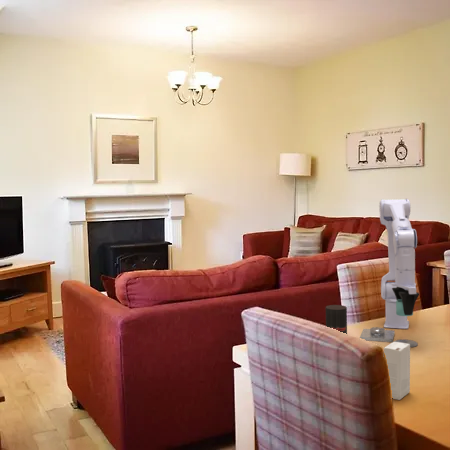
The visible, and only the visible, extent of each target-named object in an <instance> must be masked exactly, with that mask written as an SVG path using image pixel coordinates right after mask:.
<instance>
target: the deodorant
mask: <svg viewBox="0 0 450 450" xmlns="http://www.w3.org/2000/svg"><path fill="white" fill-rule="evenodd" d="M347 307H348V306H346V305H341V304H330V305H326V306H325V327H326V326H327V327H330V328H333V329H336V330H338V331H340V332H343V333H346V334H347V335H348V313H347V312H348V308H347Z"/></svg>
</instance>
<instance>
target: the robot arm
mask: <svg viewBox="0 0 450 450" xmlns="http://www.w3.org/2000/svg"><path fill="white" fill-rule="evenodd" d="M410 215H411V201H410V200H409V198H405V199H401V198H400V199H397V198H396V199H395V198H394V199H384V198H382V199H380V201H379V221H380V224H381V225H383V226H385V229H386V231H387V232H386V233H387V249H388V252H387V254H388V255H387V256H388V272H387V273H386V274H384V275H383V276H382V277H381V281H380V293H381V298H382V300H385V321H384V324H383V328H384V329H385V328H387V329H403V330H409V325H410V320H408V316H399V315H397V314H396V301H397V300H398V299H402V303H403V310H404V314H405V315H412V313H413V314H414V308H415V304H416V302H417V299H418V297H419V296H420V292H417V287H416V286H417V283H416V260H415V259H416V251H415V249H416V248H417V247H418V245H417V244H418V236H417V230H416V229H415V228H412V224H411V221H410V220H409V219H410ZM412 316H413V315H412Z"/></svg>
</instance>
